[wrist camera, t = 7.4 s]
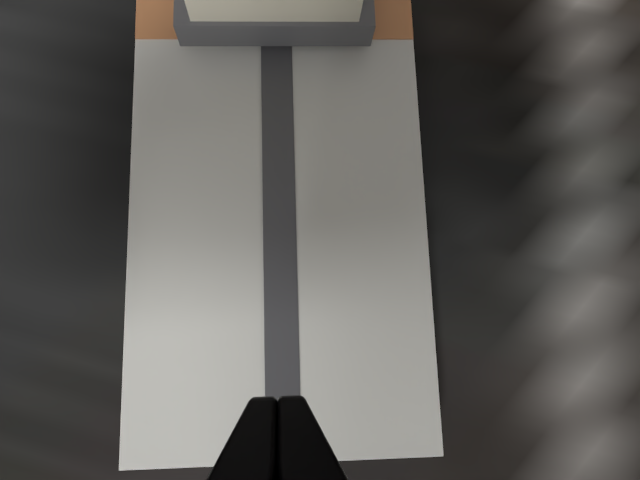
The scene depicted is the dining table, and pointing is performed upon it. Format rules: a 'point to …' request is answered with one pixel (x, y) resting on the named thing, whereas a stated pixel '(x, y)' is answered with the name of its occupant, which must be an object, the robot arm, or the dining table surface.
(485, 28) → the dining table surface
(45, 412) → the dining table surface
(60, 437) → the dining table surface
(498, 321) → the dining table surface
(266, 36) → the handle
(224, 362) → the fader deck
